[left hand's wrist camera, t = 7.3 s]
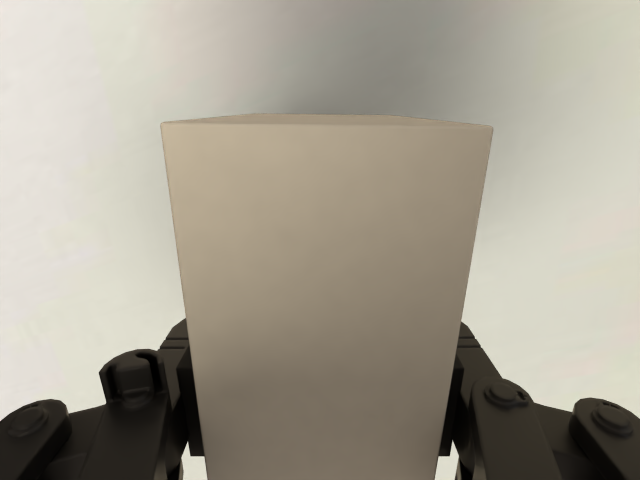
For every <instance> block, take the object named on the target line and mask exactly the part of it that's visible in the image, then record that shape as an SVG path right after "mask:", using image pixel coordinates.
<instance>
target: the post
mask: <svg viewBox="0 0 640 480" xmlns="http://www.w3.org/2000/svg"><path fill="white" fill-rule="evenodd" d="M161 134H162V141H163V149H164V156H165V164H166V171H167V179H168V186H169V194H170V201H171V209H172V216H173V224H174V231H175V239H176V246H177V254H178V261H179V269H180V276H181V284H182V291H183V299H184V306H185V314H186V321H187V329H188V336H189V344H190V351H191V359H192V366H193V374H194V381H195V389H196V396H197V404H198V411H199V419H200V426H201V434H202V441H203V449H204V456H205V464H206V471H207V479H208V480H434V479H435V474H436V468H437V462H438V456H439V450H440V444H441V438H442V432H443V426H444V420H445V414H446V408H447V402H448V396H449V390H450V384H451V378H452V372H453V366H454V360H455V354H456V348H457V342H458V336H459V331H460V325H461V319H462V313H463V307H464V301H465V295H466V289H467V283H468V277H469V271H470V265H471V259H472V253H473V247H474V241H475V235H476V229H477V223H478V217H479V211H480V205H481V199H482V193H483V188H484V182H485V176H486V170H487V164H488V158H489V152H490V146H491V140H492V134H493V127H491V126H486V125H477V124H468V123H458V122H449V121H440V120H431V119H422V118H412V117H403V116H394V115H333V114H245V115H234V116H224V117H213V118H202V119H191V120H180V121H170V122H163V123H161Z"/></svg>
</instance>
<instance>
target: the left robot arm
mask: <svg viewBox="0 0 640 480" xmlns="http://www.w3.org/2000/svg"><path fill="white" fill-rule="evenodd" d="M99 375H100V379H101V383H102V387H103V391H104V395H105V398H106V404H105V405H102V406H98V407H95V408H91V409H86V410H82V411H78V412H74V413H69V414H68V410H67V407H66V405H65V404H64V403H63V402H62V401H60V400H54V399H48V400H41V401H36V402H33V403H31V404H28V405H25V406H23V407H21V408H19V409H17V410H15V411H14V412H12V413H10V414H9V415H7V416H6V417H5V418H4V419H2V420H1V421H0V480H183V465H182V459H181V457H182V454H183V452H184V449H185V447H186V444H187V442H188V444H189V450H190V456H204V449H203V441H202V434H201V426H200V419H199V411H198V404H197V396H196V389H195V381H194V374H193V366H192V359H191V351H190V344H189V336H188V329H187V321H186V318H185V319H184V320H182V321H181V322H179V323H178V324H177V325H175V326H174V327H173V328H172V329H171V331H170V332H169V334H168V335H167V337H166V340H164V342H163V343H162V345H161V346H160V349H158V351H155V350H151V349H137V350H133V351H129V352H125V353H123V354H121V355H119V356H117V357H115V358H113V359H112V360H110V361H109V362H108V363H106V364H105V365H104V366H103V368H102V369H101V370H100V372H99ZM452 440H453V442H454V444H455V447H456V449H457V452H458V454H459V459H458V465H457V470H456V476H455V480H640V419H639V418H638V417H637V416H635V415H634V414H633V413H632V412H630V411H628V410H626V409H625V408H623V407H621V406H619V405H617V404H615V403H612V402H609V401H606V400H603V399H596V398H584V399H580V400H579V401H578V402H576V403H575V405H574V408H573V412H569V411H565V410H560V409H556V408H552V407H547V406H544V405H540V404H537V403H534V402H533V400H532V399H531V397H530V395H529V394H528V393H527V392H526V391H525V390H524V389H522V388H521V387H520V386H519V385H517V384H515V383H513V382H511V381H509V380H506V379H502V377H501V376H500V374H499V373H498V371H497V370H496V368H495V367H494V365H493V364H492V362H491V361H490V359H489V358H488V356H487V355H486V353H485V352H484V350H483V349H482V348H481V346H480V344H479V343H478V341H477V340H476V339H475V337H474V335H473V334H472V332H471V331H470V329H469V328H468V326H467V325H465V324H464V323H463V322H461V325H460V331H459V336H458V342H457V348H456V354H455V360H454V366H453V372H452V378H451V384H450V390H449V396H448V402H447V408H446V414H445V420H444V426H443V432H442V438H441V444H440V450H439V456H450V451H451V445H452Z"/></svg>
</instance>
